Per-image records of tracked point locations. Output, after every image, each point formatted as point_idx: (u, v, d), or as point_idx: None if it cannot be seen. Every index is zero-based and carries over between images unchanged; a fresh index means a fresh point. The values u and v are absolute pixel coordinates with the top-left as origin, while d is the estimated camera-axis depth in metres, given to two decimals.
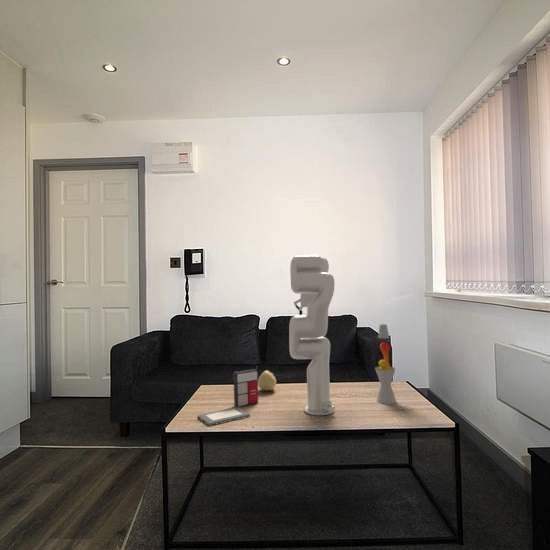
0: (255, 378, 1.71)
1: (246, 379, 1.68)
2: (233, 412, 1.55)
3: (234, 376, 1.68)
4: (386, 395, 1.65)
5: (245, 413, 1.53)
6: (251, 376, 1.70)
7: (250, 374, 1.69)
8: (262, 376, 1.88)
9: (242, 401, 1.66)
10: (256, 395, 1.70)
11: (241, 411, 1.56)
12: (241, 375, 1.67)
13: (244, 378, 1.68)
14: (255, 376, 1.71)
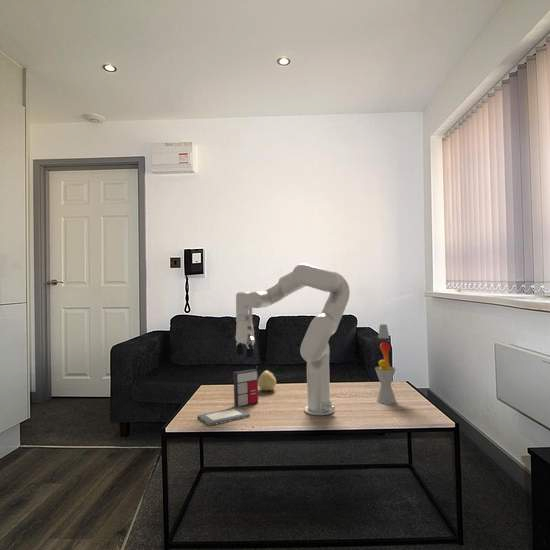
0: (255, 378, 1.71)
1: (246, 379, 1.68)
2: (233, 412, 1.55)
3: (234, 376, 1.68)
4: (386, 395, 1.65)
5: (245, 413, 1.53)
6: (251, 376, 1.70)
7: (250, 374, 1.69)
8: (262, 376, 1.88)
9: (242, 401, 1.66)
10: (256, 395, 1.70)
11: (241, 411, 1.56)
12: (241, 375, 1.67)
13: (244, 378, 1.68)
14: (255, 376, 1.71)
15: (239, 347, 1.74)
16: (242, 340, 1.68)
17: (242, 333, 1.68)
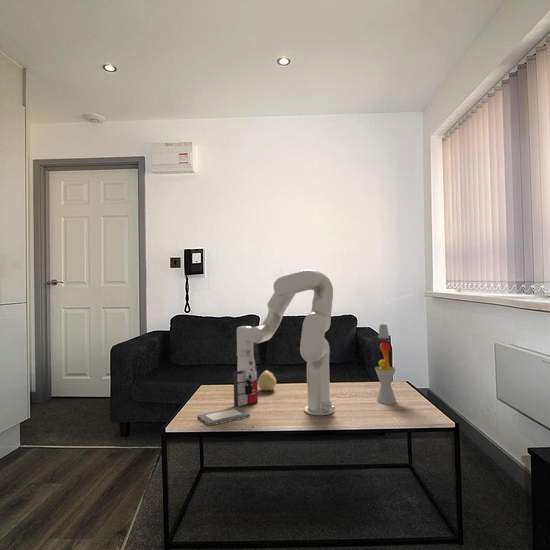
0: (255, 378, 1.71)
1: None
2: (233, 412, 1.55)
3: (234, 376, 1.68)
4: (386, 395, 1.65)
5: (245, 413, 1.53)
6: None
7: None
8: (262, 376, 1.88)
9: (242, 401, 1.66)
10: (256, 395, 1.70)
11: (241, 411, 1.56)
12: (241, 375, 1.67)
13: None
14: None
15: None
16: (244, 375, 1.67)
17: (243, 368, 1.67)
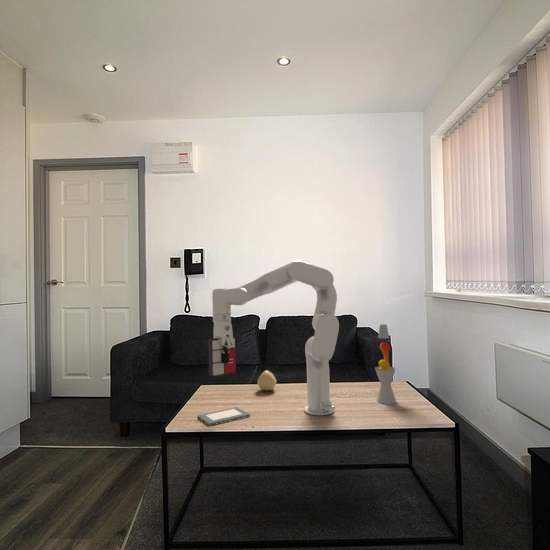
0: (233, 346, 1.55)
1: None
2: (233, 412, 1.55)
3: (209, 343, 1.51)
4: (386, 395, 1.65)
5: (245, 413, 1.53)
6: None
7: None
8: (262, 376, 1.88)
9: (217, 370, 1.50)
10: (233, 364, 1.54)
11: (241, 411, 1.56)
12: (217, 342, 1.51)
13: None
14: (233, 343, 1.55)
15: None
16: (220, 342, 1.51)
17: (219, 334, 1.51)
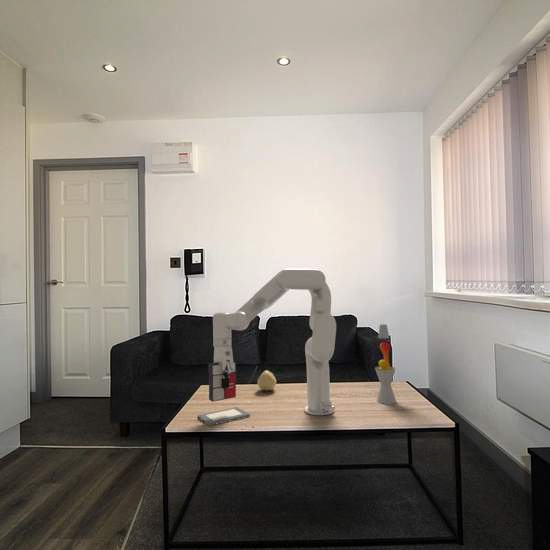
0: (233, 370, 1.54)
1: None
2: (233, 412, 1.55)
3: (209, 368, 1.51)
4: (386, 395, 1.65)
5: (245, 413, 1.53)
6: None
7: None
8: (262, 376, 1.88)
9: (217, 395, 1.50)
10: (234, 389, 1.54)
11: (241, 411, 1.56)
12: (217, 367, 1.50)
13: (220, 370, 1.51)
14: (233, 368, 1.54)
15: None
16: (220, 367, 1.50)
17: (220, 359, 1.50)
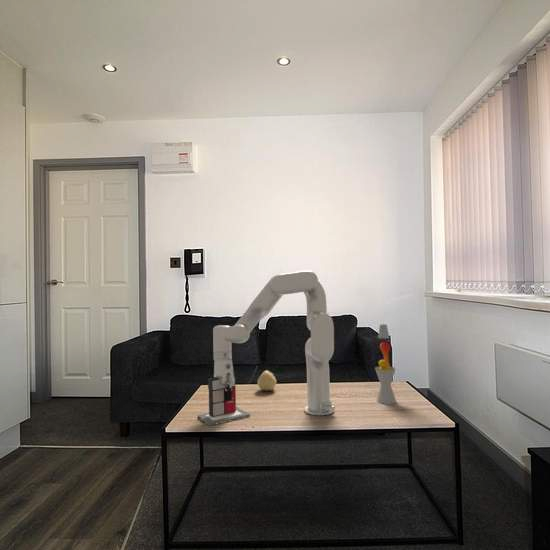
0: (233, 385, 1.55)
1: (222, 386, 1.52)
2: (233, 412, 1.55)
3: (209, 383, 1.51)
4: (386, 395, 1.65)
5: (245, 413, 1.53)
6: None
7: None
8: (262, 376, 1.88)
9: (218, 410, 1.50)
10: (234, 403, 1.54)
11: (241, 411, 1.56)
12: (217, 382, 1.51)
13: (220, 385, 1.52)
14: (233, 382, 1.55)
15: None
16: (220, 380, 1.50)
17: (220, 372, 1.50)
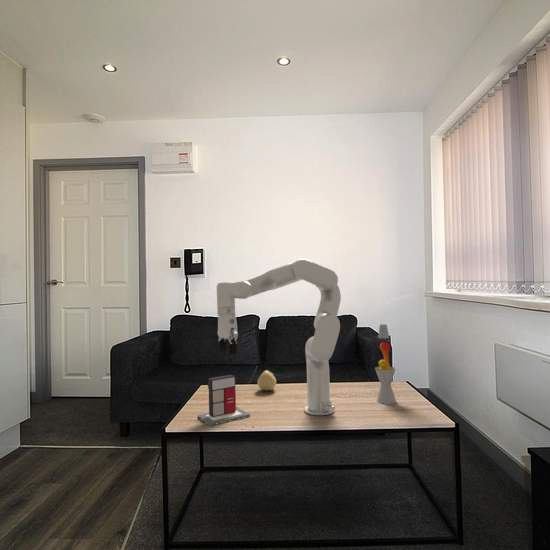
0: (232, 385, 1.55)
1: (222, 386, 1.52)
2: (233, 412, 1.55)
3: (209, 383, 1.51)
4: (386, 395, 1.65)
5: (245, 413, 1.53)
6: (228, 383, 1.54)
7: (227, 380, 1.53)
8: (262, 376, 1.88)
9: (218, 410, 1.50)
10: (233, 403, 1.54)
11: (241, 411, 1.56)
12: (217, 382, 1.51)
13: (220, 385, 1.52)
14: (232, 382, 1.55)
15: (222, 343, 1.59)
16: (225, 335, 1.52)
17: (224, 327, 1.52)
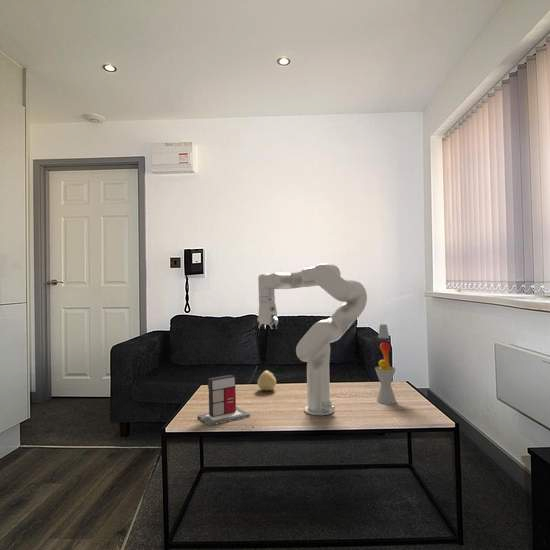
0: (232, 385, 1.55)
1: (222, 386, 1.52)
2: (233, 412, 1.55)
3: (209, 383, 1.51)
4: (386, 395, 1.65)
5: (245, 413, 1.53)
6: (228, 383, 1.54)
7: (227, 380, 1.53)
8: (262, 376, 1.88)
9: (218, 410, 1.50)
10: (233, 403, 1.54)
11: (241, 411, 1.56)
12: (217, 382, 1.51)
13: (220, 385, 1.52)
14: (232, 382, 1.55)
15: (262, 329, 1.77)
16: (266, 321, 1.70)
17: (265, 314, 1.70)
